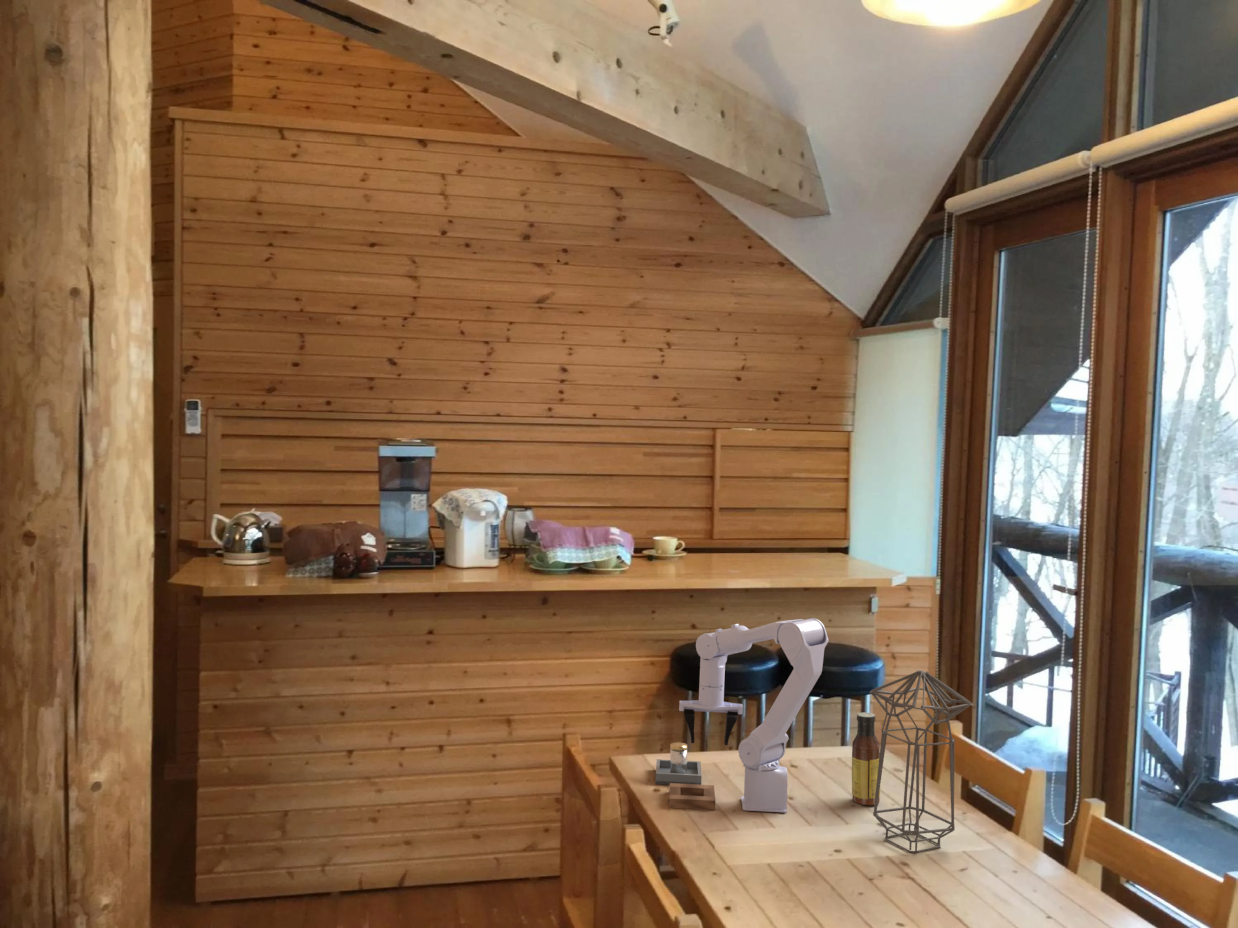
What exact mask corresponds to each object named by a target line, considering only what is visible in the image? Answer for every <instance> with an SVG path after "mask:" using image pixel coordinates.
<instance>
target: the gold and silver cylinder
mask: <svg viewBox="0 0 1238 928" xmlns="http://www.w3.org/2000/svg"><path fill="white" fill-rule="evenodd" d="M669 753H670V756H669V758H670V759H669V760H670V773H679V774H687V761H688V744H687V743H685V742H672V743H670V752H669Z"/></svg>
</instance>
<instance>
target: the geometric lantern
mask: <svg viewBox="0 0 1238 928" xmlns="http://www.w3.org/2000/svg"><path fill="white" fill-rule="evenodd" d="M916 680H917V682H916V685H915V687H914V688H912V687H913V685H914V684H915V681H916ZM903 681H904V682H903ZM921 681H922V684H923V686H922V688H920V686H921ZM900 682H903V683H902V684H901V685H900V686H899V687H898V688H896V689H895V691H885V690H883V689H885V688H887V687H890V686H892V685H895V684H897V683H900ZM929 687H930V689H931V690H930V689H929ZM902 689H903V690H902ZM943 689H944V690H945V691H947V693H950V694H951V695H953V697H956V698H957V699H952V698H951V697H950V696H949V695H948V694H947V693H946V692H945V691H944V690H943ZM919 691H922V705H921V706H920V707H916V706H917V700H918V696H919ZM912 692H913V693H912ZM925 692H926V693H927V697H928V699H929V703H930V705H925ZM909 693H912V694H911V695H910V696H909V697H908V699H907V698H906V697H907V695H908V694H909ZM869 695H872V697H873V698H874V700H875V701H876V702H877V703H878V705H880V706H879V707H881V709H882V710H883V711H884V712H885V716H884V717H885V718H884V720H883V723H882V728H881V735H880V737H881V738H880V755H879V765H878V775H877V785H876V795H875V804H874V805H873V812H872V813H873V815H872V816H873V817H874V818H875V819H876V820H877V821H878V823H879V824H881V826H882V828H884V829H885V837H884V839H885V841H887V842H888V843H890V844H893V845H895V846H897V847H898V848H899V849H902V850H904V851H906V852H908V853H911V854H917V853H922V852H926V851H931V850H936V849H940V848H941V839H942V838H944V837H945V836H948V835H949V834H951V833H953V832H954V831H955V754H956V753H955V752H956V751H955V742H956V739H954V738H953V735H952V729H951V723H950V720H951V719H953V718H955V717H956V716H957V715H959V714H961V713H962V712H963V711H965V710H966V709H968V708H969V707H970V706H971V707H973V705H974V703H972V701H970V700H969V699H967V698H966V697H964V696H963V695H961V694H960V693H959V692H957V691H955V690H954V689H953V688H951V687H950V686H948V685H947V684H945V683H944V682H942V681H941V680H940V679H938V678H937V677H935V676H934V675H932V674H931V673H930V672H928V671H924V670H919V669H918V670H916V671H915V672H911V673H910V674H907V675H906V676H903V677H901V678H898V679H896V680H893V681H890V682H888V683H886V684H882V685H881V686H878V687H876V688H873V689H871V690H870V692H869ZM886 695H889V696H886ZM897 695H898V697H897V698H896V699H895V696H897ZM934 696H935V697H937V698H938V700H939V701H940V703H941V705H942V707H941V706H940V704H939V703H938V702H937V700H936V699H935V698H934ZM902 697H903V701H902V703H901V702H900V700H901V698H902ZM879 698H880V699H881V700H883V701H884V702H885V703H882V701H881V700H880V699H879ZM906 699H907V700H906ZM911 700H912V704H909V703H910V702H911ZM956 703H958V704H959V703H961V704H959V705H958V704H957V705H956ZM888 704H889V705H890V706H891V708H890V710H889V709H888ZM947 704H948V705H952V706H950V707H949V706H947ZM897 708H901V709H902V710H901V711H899V712H897V711H896V709H897ZM912 709H913V710H919V711H923V713H925V715H926V716H927V717H928V718H929V719H930V722H929V724H928V725H927V726H926V728H923V727H918V725H917V723H915V721H914V718H912V716H911V714H910V713H909V711H911V710H912ZM927 709H928V710H929V709H931V710H933V711H935V715H934V717H933V716H932V715H931V714H930V713H929V712H928V711H927ZM950 711H951V712H950ZM905 713H907V716H908V717H909V718H910V720H911V721H912V723H913V725H914V726H915V727H914V726H913V727H904V725H903V723H902V720H901V719H900V716H901V715H903V714H905ZM941 713H943V714H945V716H946V718H945V719H941V720H939V719H938V718H939V716H940V715H941ZM892 717H895V718H896V720H897V722H898V724H899V725H900V727H901V728H890V729H889V726H890V722H891V719H892ZM942 723H943V724H944V723H946V724H947V730H948V736H946V735H944V734H942V733H937V732H936V731H933V730H930V728H931V726H932V725H933V724H935V725H938V724H942ZM885 724H886V725H885ZM884 728H885V729H884ZM908 730H915V740H914V742H913V741H911V739H910V738H909V737H910V736H909V735H908V733H907V731H908ZM895 731H897V732H898V731H903V734H904V736H905V738H906V740H905V739H902V738H900V737H897V736H896V735H894V734H893V735H892V734H891V733H889V732H895ZM920 731H921V732H922V733H921V734H920V733H919V732H920ZM928 733H931V734H934V735H936V736H939V737H941V738H944V739H947V740H949V742H944V741H943V742H935V743H934V742H933V743H932V742H931V743H928ZM919 734H920V735H919ZM923 735H924V738H923V739H924V741H923V743H918V742H919V740H920V739H921V738H922V737H923ZM887 737H891V738H893V739H896V740H898V741H901V742H903V743H906V744H907V752H906V753H907V754H906V765H905V780H904V791H903V792H904V794H903V805H902V806H901V807H895V808H894V807H892V808H886V809H880V810H879V809H878V798H879V790H880V791H881V782H882V775H883V768H884V760H885V752H886V746H887V745H886V744H887ZM912 745H913V746H914V749H913V750H914V751H913V759H912V769H911V780H910V790H909V799H908V798H907V797H908V789H909V787H908V784H909V774H910V773H909V771H910V759H911V758H910V757H911V746H912ZM939 745H948V746H949V752H948V753H949V780H950V781H949V782H950V820H951V821H950V820H948V819H945V818H943V817H941V816H938V815H937V814H934V813H932V812H931V811H928V810H926V809H925V808H926V807H925V802H926V775H927V774H926V773H927V751H928V750H927V746H939ZM920 747H923V762H922V763H923V768H922V794H921V797H922V798H921V807H920ZM915 775H916V776H915ZM915 778H916V779H915ZM915 780H916V784H915ZM914 784H915V789H916V791H915V795H916V796H915V807H914V806H912V803H913V801H912V800H913V796H914V795H913V793H914ZM907 799H908V801H907ZM907 802H908V806H907ZM907 810H908V816H909V822H907V823H906V814H907ZM911 810H913V811H915V822H914V823H912V811H911ZM897 811H902V821H901V822H902V823H901V824H898V825H897V824H894V823H892V822H890V821H888V820H886V819H884V818H883V817H881V816H880V815H879V814H881V813H889V812H897ZM923 813H925V814H927V815H929V816H931V817H933V818H936V819H937V820H940V821H942V822H944V823H946V824H948V825H949V826H948V827H946V828H935V829H928V828H927V827H926V828H925V827H923V826H921V825H920V818H921V817H922V815H923ZM906 826H908V830H907V829H906V830H905V828H906ZM911 826H913V830H911ZM892 829H896V830H897V831H899V832H901V833H898V832H895V831H893V830H892ZM920 829H921V830H920ZM889 832H890V833H892V834H891V835H889ZM909 833H910V834H911V833H912V835H915V839H914V840H913V839H911V838H910V837H909V835H908V834H909ZM923 834H933V835H936V837H934V836H933V837H929V838H928V837H926V836H924V835H923ZM904 835H905V836H904ZM894 837H900V838H902V839H904V840H906V841H908V842H909V848H906V847H904V846H903V845H902V846H901V845H900V844H898V843H896V842H894V841H892V840H891V839H889V838H894ZM918 837H920V839H918ZM921 838H922V839H921ZM935 840H937V841H935ZM924 841H926V842H927V841H929V842H931V843H933V844H935V845H937V846H931V847H927V848H922V849H919V850H918V842H924ZM912 843H915V844H914V845H915V846H914V850H912Z"/></svg>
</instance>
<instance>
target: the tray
mask: <svg viewBox="0 0 1238 928" xmlns="http://www.w3.org/2000/svg"><path fill="white" fill-rule="evenodd" d="M701 764H702V763H701V761H697V760H696V761H695V760H687V774H679V773H670V759H657V758H656V765H655V767H656V768H655V785H662V786H663V785H667V786H668V785H669V786H670V783H678V784H698V785H702V776H703V775H702V765H701Z"/></svg>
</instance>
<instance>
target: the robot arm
mask: <svg viewBox="0 0 1238 928" xmlns="http://www.w3.org/2000/svg"><path fill="white" fill-rule="evenodd" d="M827 633H828V632H827V630H826V627H825V625H824V623H823V622H822V621H821V620H820V619H818V618H815V617H810V618H807V619H803V618H802V619H801V618H799V619H788V620H780V621H775V622H771V623H770V622H769V623H767V624H764V625H759V626H757V627H753V628H748V627H747V626H745V625H740V624H739V623H734V624H731V625H730V628H725V629H723V628H717V629H715V632H710V633H709V632H708V633H707V632H706V633H703V634H701V635H699V636H698V637H697V639H696V641H695V648H696V649H695V651H696V653H697V655H698V656H699V657H700V662H699V667H700V668H699V683H698V685H699V686H698V687H699V688H698V700H697V699H696V700H679V705H678V707H679V708H678V710H679V712H683V716H684V719H685V721H686V723H687V727H688V730H689V734H690V735H689V736H690V743H691V744H695V719H696V718H695V716H696V715H695V714H696V712H706V713H725V730H724V742H723V743H724V746H728V745H729V740H730V736H731V733H732V730H733V728H734V726H735V724H736V723H737V722H738V718H739V716H738V715H743V713H744V712H743V710H744V706H743V704H742V703H734V702H729V701H728V702H727V701H724V700H725V699H724V698H725V679H726V678H725V674H726V673H725V671H726V663H727V661H728V656H731V655H734V654H738V653H743V652H746V651H749V650H750V649H751V648H752V645H753V644H755V643H759V642H760V643H761V642H763V641H764V642H765V641H770V640H773V641H774V642H775V644H777V645H778V644H779V645H780V647H781V649H782V651H783V653H784V654H785V656H786V658H787V660H788V662H789V664H790V665H791V666H792V667H793V669H792V670H791V673H790V674H789V676H788V678H787V680H786V681H785V683H784V685H783V686H782V688H781V690H780V692H779V693H778V695H777V696H776V698H775V701H774V702H773V704H772V706H771V707H770V709H769V711H768V712H767V714H766V716H765V718H764V720H763V721H762V723H760V725H758V726H757V727H756V728H754V729H753V730H752V731H751V732H750V734H749V735H748V736H747V737H746V738H745V739H742V740H741V741H740V742H739V745H738V750H737V751H738V752H737V753H738V757H739V759H740V761H741V763H743V764H742V766H743V767H744V780H743V781H744V785H743V786H744V787H743V791H744V792H743V795H741V796H740V801H741V807H742V810H743V811H750V812H767V813H768V812H769V813H784V814H786V813H788V812H787V810H788V809H787V807H788V806H787V805H788V804H787V803H788V796H789V795H788V781H789V780H788V769H787V766H781V765H780V764H781V763H780V761H781V759H782V758H784V756H785V754H786V746H787V743H788V740H790V738H789V735H788V734H787V731H788V730H789V728H790V727H791V725H792V724H793V721H794V720H795V718H796V717H797V715H798V713H799V711H800V710H801V708H802V707H803V705H804V703H805V701H806V700H807V698H808V697H809V695H810V693H811V692H812V691H813V688H814V686H815V685H816V683H817V682H818V679H819V678H820V676H821V675H822V672H823V664H824V655H825V648H826V646H827V645H828V643H829V641H830V639H829V637H828V634H827Z"/></svg>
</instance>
